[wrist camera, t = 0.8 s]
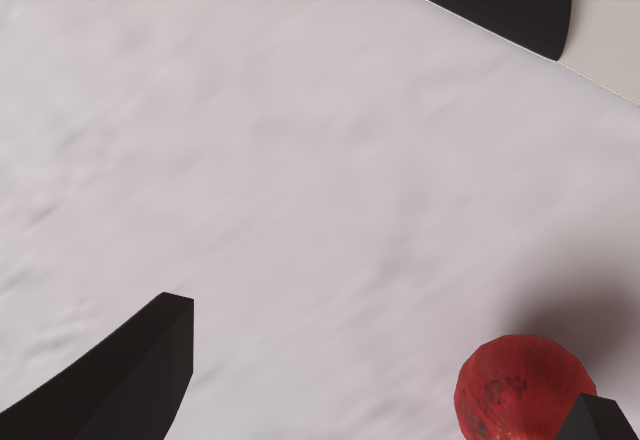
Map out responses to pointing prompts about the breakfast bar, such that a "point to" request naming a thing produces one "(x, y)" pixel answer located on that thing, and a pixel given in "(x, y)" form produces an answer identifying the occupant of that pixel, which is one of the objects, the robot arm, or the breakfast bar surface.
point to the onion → (518, 389)
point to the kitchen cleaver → (567, 34)
